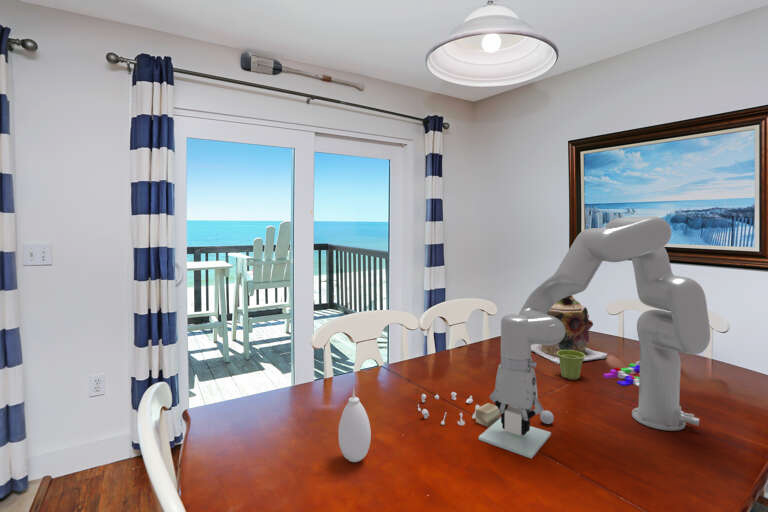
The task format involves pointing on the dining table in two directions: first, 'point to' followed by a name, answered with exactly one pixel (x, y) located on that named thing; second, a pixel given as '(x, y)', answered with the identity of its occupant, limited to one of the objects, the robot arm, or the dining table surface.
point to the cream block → (513, 420)
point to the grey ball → (546, 417)
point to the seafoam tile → (515, 439)
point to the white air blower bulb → (354, 431)
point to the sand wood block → (487, 414)
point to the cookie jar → (570, 331)
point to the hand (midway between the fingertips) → (515, 429)
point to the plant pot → (570, 363)
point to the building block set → (626, 374)
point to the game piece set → (446, 412)
